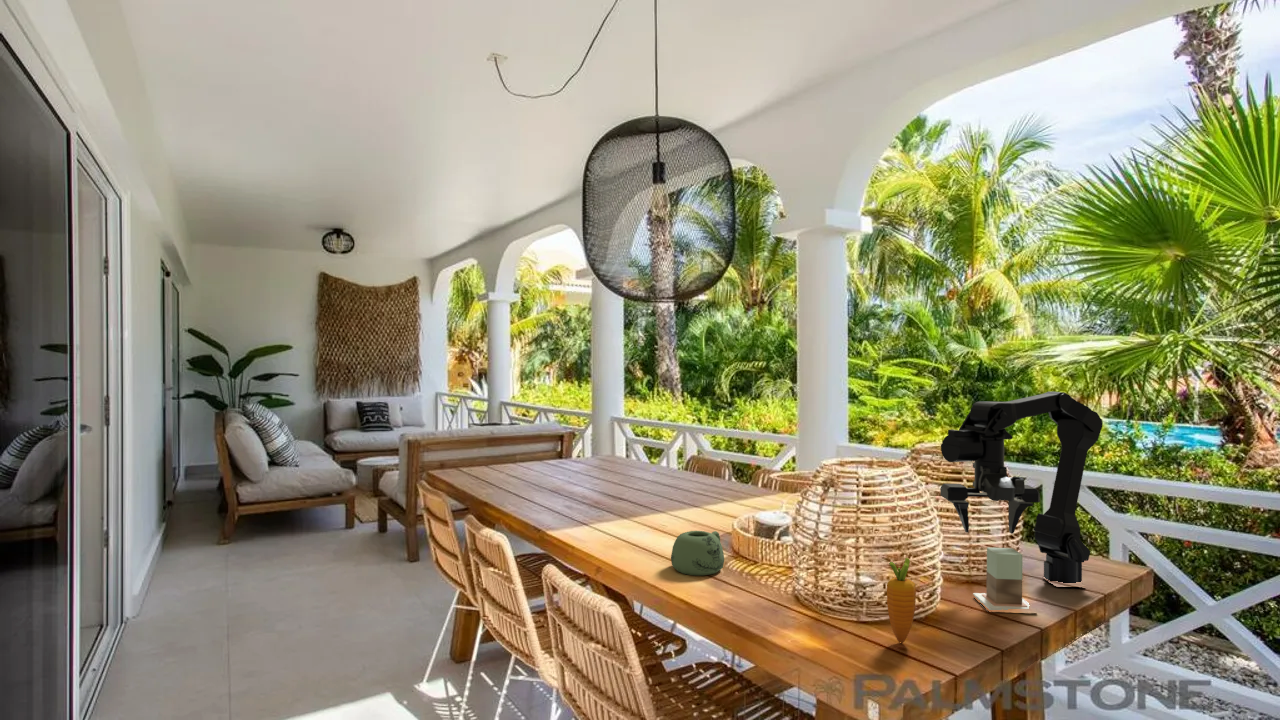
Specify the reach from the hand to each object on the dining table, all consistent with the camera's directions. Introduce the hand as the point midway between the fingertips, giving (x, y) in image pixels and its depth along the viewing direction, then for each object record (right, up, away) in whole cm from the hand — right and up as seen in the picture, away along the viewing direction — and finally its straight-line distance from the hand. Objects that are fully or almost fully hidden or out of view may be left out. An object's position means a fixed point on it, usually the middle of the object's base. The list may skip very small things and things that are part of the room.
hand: (989, 532), depth 153 cm
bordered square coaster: (-1, -13, -8) cm, 15 cm away
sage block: (-1, -7, -8) cm, 10 cm away
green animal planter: (-60, -13, +18) cm, 65 cm away
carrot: (-29, -13, -27) cm, 42 cm away
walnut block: (-1, -12, -8) cm, 14 cm away
